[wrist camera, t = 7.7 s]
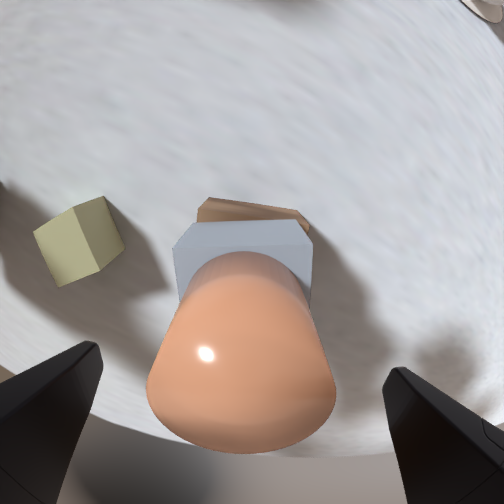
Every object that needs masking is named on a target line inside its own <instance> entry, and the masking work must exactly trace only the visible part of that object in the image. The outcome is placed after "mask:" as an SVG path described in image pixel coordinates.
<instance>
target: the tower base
mask: <svg viewBox="0 0 504 504" xmlns="http://www.w3.org/2000/svg"><path fill="white" fill-rule="evenodd" d="M288 219H296V220H297V222H298V223H299V225H300V226H301V227H302V229H303V230H304V232H305V233H306V235H307V236H308V231H309V226H310V225H309V224H308V223H307V221H306V220H305V219H304V218H303V217H302V216H301V214H300V213H299V212H298V211H297V210H292V209H286V208H280V207H273V206H267V205H260V204H254V203H247V202H240V201H233V200H226V199H218V198H211V197H209V198H208V199H207V200H206V201H205V202H204V203H203V204H202V205H201V206H200V207H199V208H198V214H197V223H200V222H223V221H250V220H288Z"/></svg>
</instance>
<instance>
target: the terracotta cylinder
mask: <svg viewBox="0 0 504 504" xmlns="http://www.w3.org/2000/svg"><path fill="white" fill-rule="evenodd" d="M146 394H147V399H148V402H149V405H150V407H151V409H152V411H153V413H154V414H155V415H156V417H157V418H158V419H159V421H160V422H161V423H162V424H163V425H164V426H165V427H167V428H168V429H169V430H170V431H171V432H173V433H174V434H176V435H177V436H179V437H181V438H182V439H184V440H186V441H188V442H190V443H192V444H195V445H197V446H200V447H203V448H206V449H210V450H214V451H220V452H225V453H234V454H255V453H264V452H269V451H275V450H278V449H282V448H285V447H288V446H291V445H293V444H295V443H297V442H300V441H302V440H303V439H305V438H307V437H308V436H310V435H311V434H313V433H314V432H315V431H317V430H318V429H319V428H320V427H321V426H322V425H323V424H324V423H325V421H326V420H327V419H328V418H329V416H330V414H331V412H332V410H333V408H334V405H335V401H336V387H335V383H334V379H333V376H332V373H331V370H330V368H329V365H328V362H327V359H326V356H325V353H324V350H323V347H322V344H321V341H320V338H319V336H318V333H317V330H316V327H315V324H314V321H313V319H312V316H311V313H310V310H309V307H308V305H307V302H306V299H305V296H304V294H303V291H302V288H301V286H300V284H299V282H298V280H297V278H296V277H295V275H294V274H293V273H292V272H291V271H290V270H289V268H287V267H286V266H285V265H284V264H283V263H281V262H280V261H278V260H276V259H274V258H272V257H270V256H268V255H265V254H261V253H257V252H251V251H237V252H230V253H226V254H223V255H220V256H217V257H215V258H213V259H211V260H209V261H208V262H206V263H205V264H204V265H202V266H201V267H200V268H199V269H198V270H197V271H196V273H195V274H194V275H193V277H192V278H191V280H190V282H189V284H188V286H187V288H186V290H185V292H184V295H183V297H182V299H181V301H180V303H179V306H178V308H177V310H176V312H175V315H174V317H173V319H172V321H171V324H170V326H169V328H168V331H167V333H166V335H165V337H164V340H163V342H162V344H161V347H160V349H159V352H158V354H157V356H156V359H155V361H154V363H153V366H152V368H151V371H150V373H149V376H148V379H147V384H146Z"/></svg>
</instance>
